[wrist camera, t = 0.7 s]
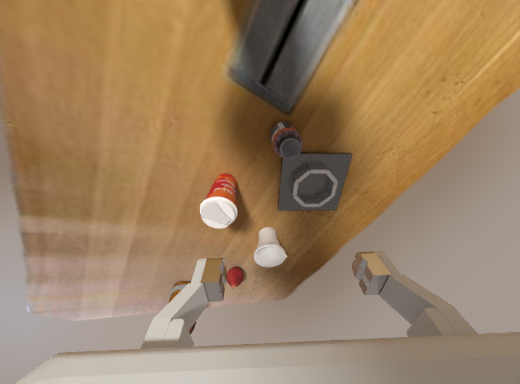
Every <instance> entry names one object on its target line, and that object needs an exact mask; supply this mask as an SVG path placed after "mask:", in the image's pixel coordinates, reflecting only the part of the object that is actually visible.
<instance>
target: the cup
mask: <svg viewBox="0 0 520 384" xmlns="http://www.w3.org/2000/svg"><path fill="white" fill-rule="evenodd" d="M285 258H287V255H286V253H285V251H284V249H283V248H282V247H281V246H280V244H279V242H278V240H277V236H276V231H275V230H274V229H272V228H269V227H266V228H263V229H261V230H260V232H259V243H258V247H257V249H256V251H255V253H254V260H255V262H256V263H257V264H258V265H260V266H263V267H275V266H278V265H280V264H281V263H282V262H284V260H285Z"/></svg>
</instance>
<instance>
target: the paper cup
mask: <svg viewBox="0 0 520 384" xmlns="http://www.w3.org/2000/svg"><path fill="white" fill-rule="evenodd" d="M236 194H237V183H236V180H235V178H234V177H233V176H232V175H230V174H221V175H219V176H218V177H217V178H216V180H215V182H214V184H213V186H212V188H211V190H210V192H209V194H208V196H207V198H206V200H204V201H203V202H202V203H201V205H200V214H201V216H202V219H203V221H204V222H205V223H206V224H207V225H208V226H210V227H213V228H225V227H228V225H230V224H231V223H232V222H234V220H235V219H236V217H237V208H236Z"/></svg>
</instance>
